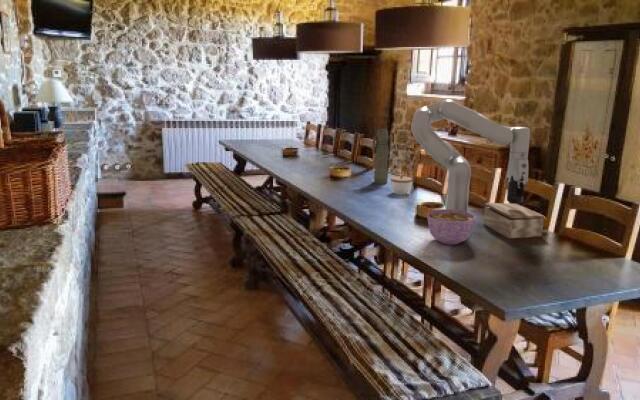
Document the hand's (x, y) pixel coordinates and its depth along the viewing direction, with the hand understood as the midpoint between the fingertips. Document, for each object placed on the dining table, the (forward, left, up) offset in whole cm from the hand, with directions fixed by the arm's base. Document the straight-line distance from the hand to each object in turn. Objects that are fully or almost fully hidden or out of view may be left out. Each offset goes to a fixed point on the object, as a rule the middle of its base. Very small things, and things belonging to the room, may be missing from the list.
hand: (515, 194), depth 226 cm
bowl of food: (-35, -11, -17) cm, 40 cm away
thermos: (-29, +111, -17) cm, 116 cm away
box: (0, 0, -17) cm, 17 cm away
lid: (0, 0, -8) cm, 8 cm away
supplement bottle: (0, 0, -3) cm, 3 cm away
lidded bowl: (-26, +79, -17) cm, 85 cm away
